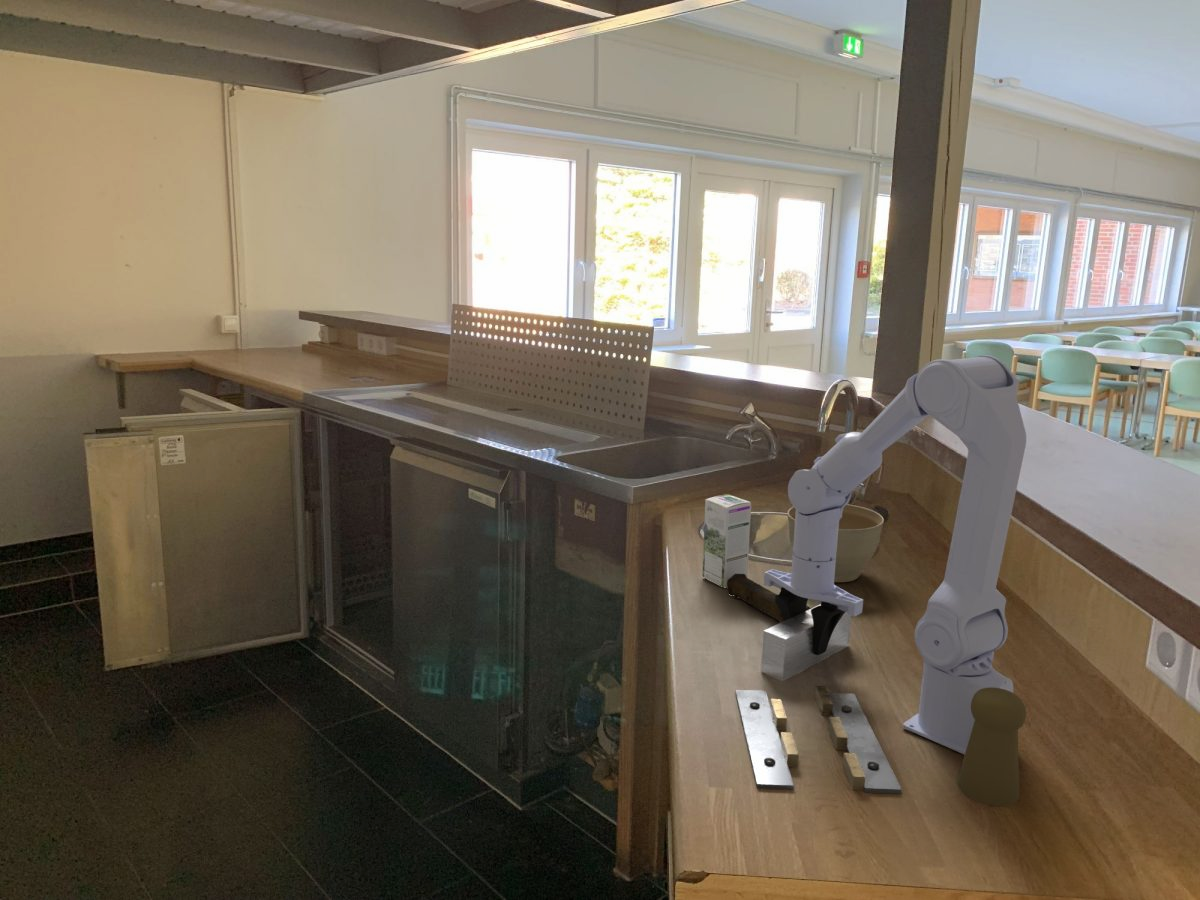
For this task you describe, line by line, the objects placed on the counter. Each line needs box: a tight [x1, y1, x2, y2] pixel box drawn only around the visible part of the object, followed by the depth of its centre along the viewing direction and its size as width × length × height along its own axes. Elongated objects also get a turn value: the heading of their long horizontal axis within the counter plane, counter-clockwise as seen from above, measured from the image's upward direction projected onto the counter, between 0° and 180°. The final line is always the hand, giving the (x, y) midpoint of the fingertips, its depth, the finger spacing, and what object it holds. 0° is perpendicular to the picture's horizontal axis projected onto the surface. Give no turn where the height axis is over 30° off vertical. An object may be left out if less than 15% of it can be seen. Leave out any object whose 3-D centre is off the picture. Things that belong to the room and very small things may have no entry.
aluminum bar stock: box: [760, 603, 852, 682], centre depth 119 cm, size 4×16×6 cm, turn 133°
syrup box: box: [701, 494, 752, 588], centre depth 146 cm, size 6×6×14 cm
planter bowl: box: [786, 503, 885, 583], centre depth 151 cm, size 16×16×11 cm
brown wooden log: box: [727, 574, 812, 623], centre depth 133 cm, size 19×4×5 cm, turn 25°
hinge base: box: [735, 685, 903, 795], centre depth 100 cm, size 15×20×2 cm
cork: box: [956, 687, 1027, 807], centre depth 90 cm, size 6×6×11 cm
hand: (807, 647), depth 119 cm, fingers closed on aluminum bar stock, 3 cm apart
